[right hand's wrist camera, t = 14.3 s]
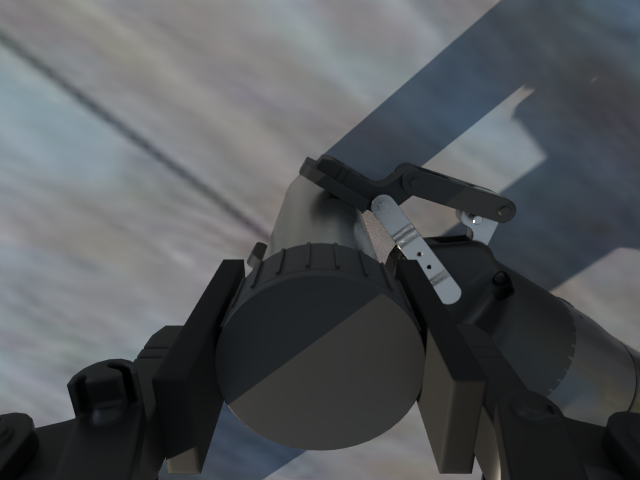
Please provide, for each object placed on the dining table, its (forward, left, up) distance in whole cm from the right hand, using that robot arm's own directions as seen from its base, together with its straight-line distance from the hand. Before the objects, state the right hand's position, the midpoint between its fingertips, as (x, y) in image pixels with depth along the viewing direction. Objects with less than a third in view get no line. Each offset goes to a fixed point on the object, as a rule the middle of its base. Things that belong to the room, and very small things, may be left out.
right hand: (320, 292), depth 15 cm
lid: (0, 0, +4) cm, 4 cm away
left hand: (-1, -3, -7) cm, 7 cm away
